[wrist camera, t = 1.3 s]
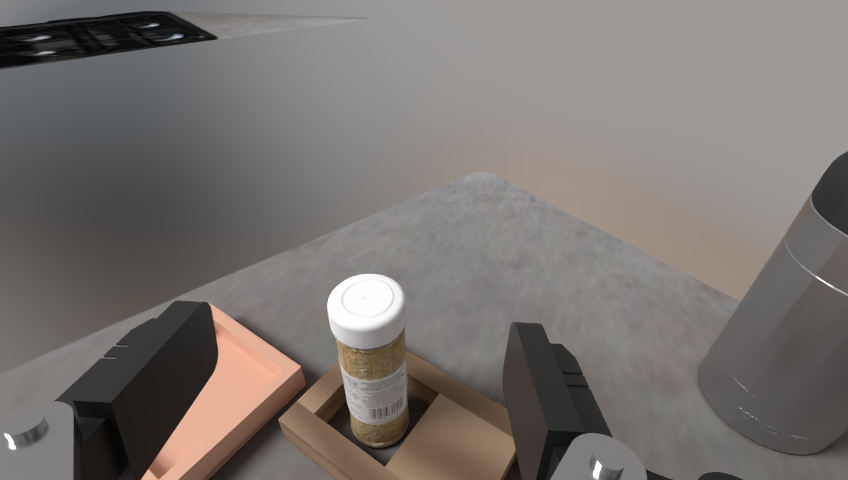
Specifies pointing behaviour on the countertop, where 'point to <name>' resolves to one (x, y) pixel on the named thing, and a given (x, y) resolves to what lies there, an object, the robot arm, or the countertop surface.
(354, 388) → the sprinkles bottle
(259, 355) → the terracotta tray
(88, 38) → the countertop surface
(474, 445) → the walnut rack
